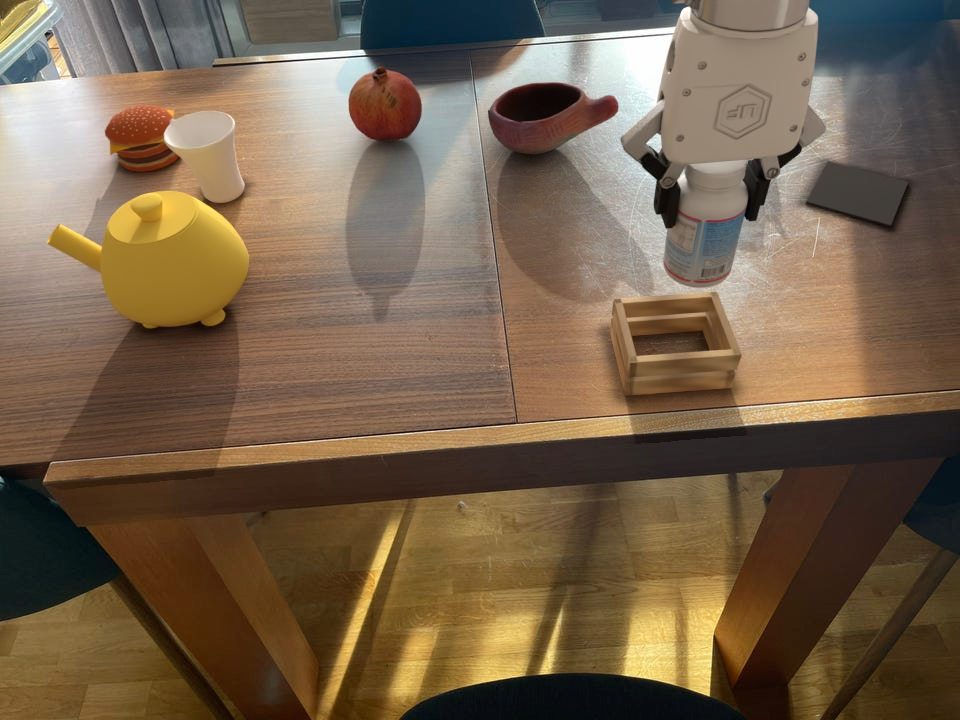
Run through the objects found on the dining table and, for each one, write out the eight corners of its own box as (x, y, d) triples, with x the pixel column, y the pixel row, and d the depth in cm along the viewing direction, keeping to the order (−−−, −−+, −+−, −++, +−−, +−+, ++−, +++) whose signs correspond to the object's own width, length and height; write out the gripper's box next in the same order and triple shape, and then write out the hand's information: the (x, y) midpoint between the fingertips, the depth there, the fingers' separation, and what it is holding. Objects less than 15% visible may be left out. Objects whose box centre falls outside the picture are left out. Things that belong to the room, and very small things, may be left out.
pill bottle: (732, 250, 68) (758, 141, 59) (728, 295, 64) (756, 185, 55) (664, 242, 69) (681, 135, 61) (657, 285, 65) (674, 177, 57)
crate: (707, 325, 79) (717, 290, 75) (731, 388, 73) (742, 354, 69) (609, 332, 79) (613, 298, 75) (624, 396, 73) (630, 362, 69)
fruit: (435, 144, 105) (428, 77, 97) (370, 164, 102) (357, 97, 95) (408, 110, 111) (399, 45, 104) (345, 128, 109) (332, 62, 101)
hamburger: (118, 145, 108) (98, 104, 104) (184, 132, 110) (168, 90, 105) (118, 180, 102) (97, 137, 97) (188, 165, 104) (171, 122, 99)
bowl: (504, 178, 98) (503, 124, 92) (480, 129, 107) (478, 76, 101) (617, 157, 100) (623, 102, 95) (585, 110, 109) (589, 58, 103)
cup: (220, 166, 103) (196, 101, 96) (269, 184, 100) (249, 118, 92) (173, 200, 99) (144, 134, 91) (223, 220, 95) (198, 153, 88)
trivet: (907, 183, 94) (908, 181, 93) (890, 227, 88) (891, 225, 88) (826, 162, 97) (827, 160, 97) (805, 203, 92) (805, 201, 92)
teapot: (63, 351, 81) (-4, 255, 71) (109, 258, 91) (56, 162, 81) (243, 344, 80) (201, 246, 70) (269, 251, 91) (236, 154, 80)
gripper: (631, 29, 46) (611, 252, 60) (906, 5, 46) (824, 234, 59) (610, -18, 51) (596, 197, 65) (858, -39, 51) (793, 180, 64)
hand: (706, 213), depth 62 cm, fingers closed on pill bottle, 6 cm apart
